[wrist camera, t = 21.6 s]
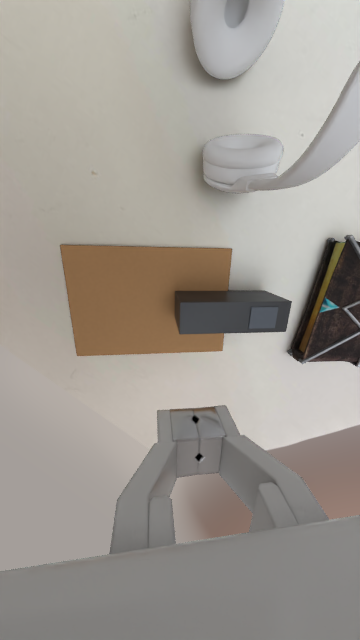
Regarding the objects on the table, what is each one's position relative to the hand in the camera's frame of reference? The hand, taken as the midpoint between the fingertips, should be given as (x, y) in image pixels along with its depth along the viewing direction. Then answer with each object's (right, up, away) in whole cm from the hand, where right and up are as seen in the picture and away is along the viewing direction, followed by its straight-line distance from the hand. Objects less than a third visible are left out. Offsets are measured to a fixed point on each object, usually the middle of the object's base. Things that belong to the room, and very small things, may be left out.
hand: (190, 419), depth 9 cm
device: (-1, +5, +15) cm, 16 cm away
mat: (-4, +7, +18) cm, 20 cm away
